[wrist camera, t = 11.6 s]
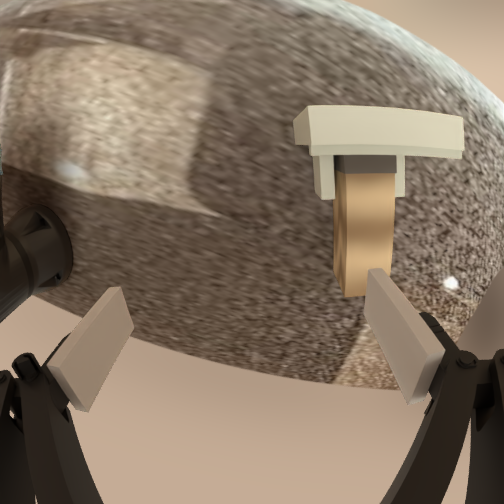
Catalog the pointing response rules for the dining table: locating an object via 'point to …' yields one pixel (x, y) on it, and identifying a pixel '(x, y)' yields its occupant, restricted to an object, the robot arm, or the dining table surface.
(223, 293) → the dining table surface
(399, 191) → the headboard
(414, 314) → the robot arm
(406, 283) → the dining table surface
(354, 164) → the tan and grey block
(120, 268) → the dining table surface
